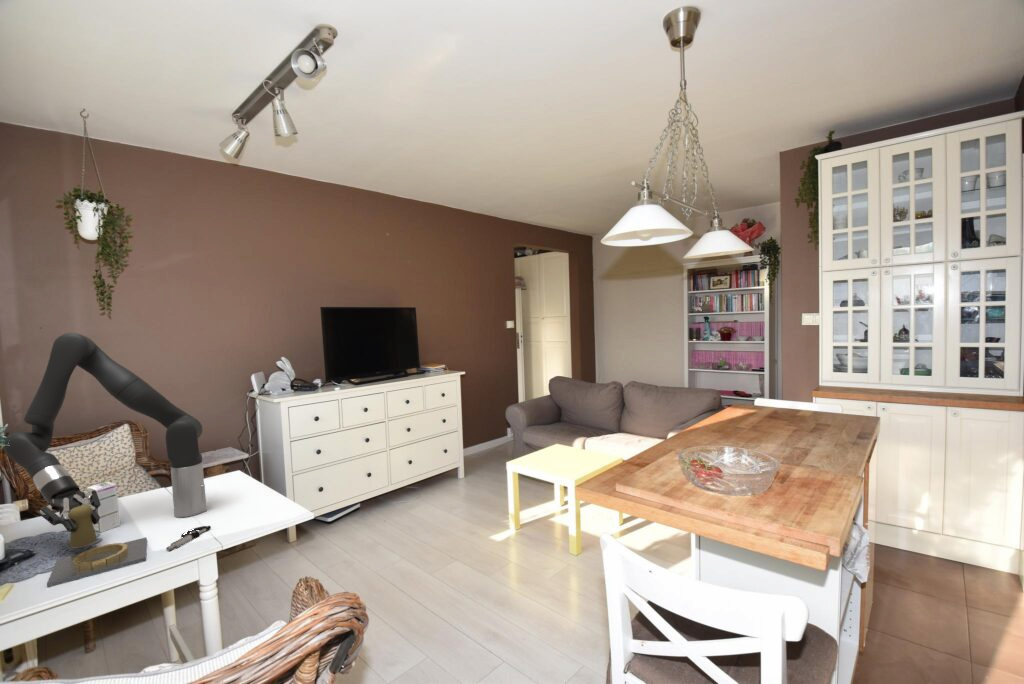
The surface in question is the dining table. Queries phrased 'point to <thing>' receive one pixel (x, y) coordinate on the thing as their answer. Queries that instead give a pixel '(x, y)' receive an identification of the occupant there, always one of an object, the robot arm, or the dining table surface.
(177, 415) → the robot arm
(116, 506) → the syrup box
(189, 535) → the micrometer
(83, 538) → the cork
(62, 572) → the collar plate
